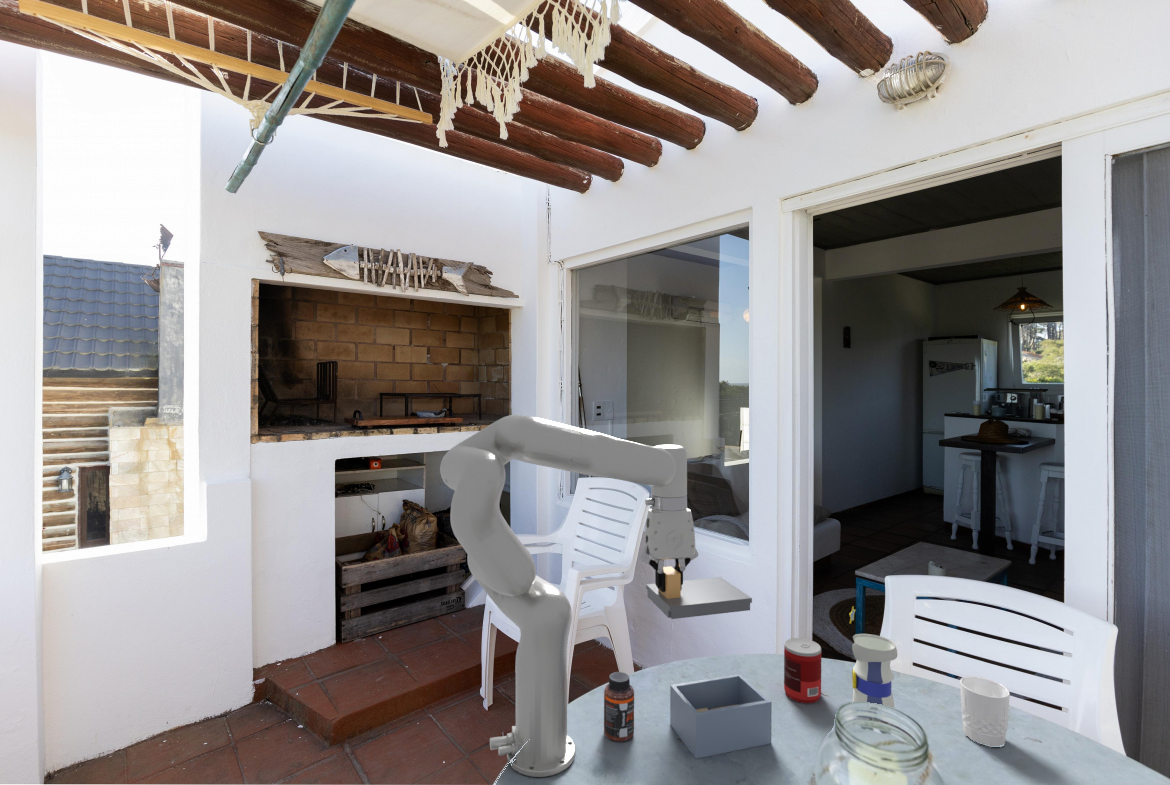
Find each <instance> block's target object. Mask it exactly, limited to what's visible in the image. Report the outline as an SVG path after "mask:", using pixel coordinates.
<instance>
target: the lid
mask: <svg viewBox="0 0 1170 785" xmlns="http://www.w3.org/2000/svg"><path fill="white" fill-rule="evenodd" d="M663 570H664V573H665V592H661V591H660V590H659V589H658V588H657V586H656V584H655V583H647V584H645V589H646V591H647V598H648V599H649V600H650V601H651V603H653V604H654V605H655V606H656V607H657V608H658V609H659V610H660V611H661V612H662V613H663V614H664V615H665V616H666V617H667V618H669V619H671V620H675V619H677V620H678V619H686V618H687V619H688V618H694V617H703V616H711V615H712V616H713V615H720V614H729V613H738V612H746V611H751V604H752V603H753V598H752V597H751V596H750V595H748V594H747V593H745V592H744V591H743V590H741V589H739V588H737V587H736V586H734V584H731V583H730V582H729V581H727V580H726V579H725V578H723V577H721V576H719V577H710V578H699V579H689V580H683V585H682V590H681V574H680V573H679V572H678V571H677V570H675V569H674V568H673V566H664V567H663Z"/></svg>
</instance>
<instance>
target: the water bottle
mask: <svg viewBox="0 0 1170 785" xmlns="http://www.w3.org/2000/svg"><path fill="white" fill-rule="evenodd" d="M854 607H855V606H852V607H851V611H850V612H849V617H850V618H849V624H850V625H851V624H852V621H854V620H855V613H856V611H857V610H856V609H854ZM852 639H853V642H854V643H852V654H853V656H854V659H855V660H856V662H855V663H854V666H853V667H852V668H853V669H852V672H851V673H852V674H851V677H852V678H851V679H852V684H851V685H852V689H853V691H852V703H853V702H870V703H877V704H882V705H885V706H889V707H892V708H894V709H895V698H894V695H893V693H892V681H893V680H894V679H895V675H894V673H893V672H892V669H891V661H892V662H893V661H894V660H896V659H897V657H898V650H897V646H896V644H895V642H894V641H892V640H890V639H889V638H887V637H884V636H880V635H877V634H869V633H858V634H857V633H855V634H854V635H853V636H852Z"/></svg>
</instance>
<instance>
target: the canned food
mask: <svg viewBox="0 0 1170 785" xmlns="http://www.w3.org/2000/svg"><path fill="white" fill-rule="evenodd" d="M783 646H784V647H783V648H784V650H783V652H784V653H783V654H784V656H783V678H784V679H783V687H784V688H783V689H784V692H785V695H786V697H788V698H789V699H790V700H792V701H794V702H797V703H801V704H814V703H817V702H819V701H820V699H821V697H822V696H821V695H822V647H821V645H820V644H819V643H817V642H816V641H814V640H810V639H808V638H803V637H794V638H788V639H786V640H785V641H784V643H783Z"/></svg>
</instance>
